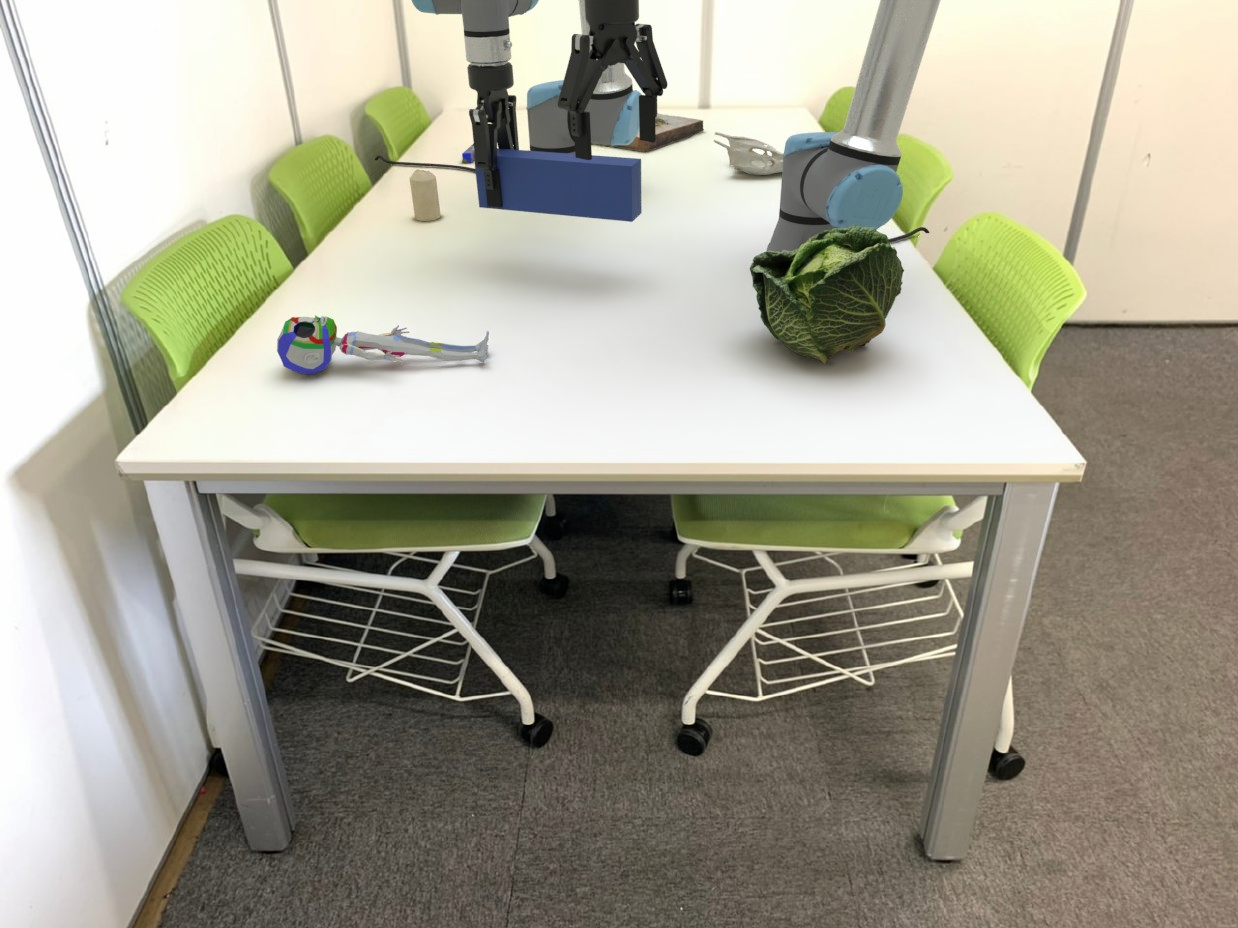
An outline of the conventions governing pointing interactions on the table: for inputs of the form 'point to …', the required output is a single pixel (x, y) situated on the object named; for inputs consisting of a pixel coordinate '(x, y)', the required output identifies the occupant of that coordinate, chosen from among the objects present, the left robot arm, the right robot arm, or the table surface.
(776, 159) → the anatomical model
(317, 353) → the toy
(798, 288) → the vegetable
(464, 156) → the pillar
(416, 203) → the candle
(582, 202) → the bar
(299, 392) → the table surface
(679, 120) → the plaque
